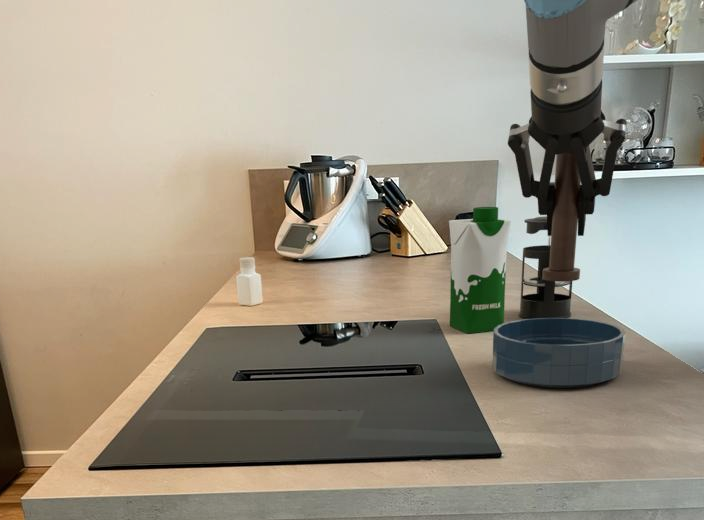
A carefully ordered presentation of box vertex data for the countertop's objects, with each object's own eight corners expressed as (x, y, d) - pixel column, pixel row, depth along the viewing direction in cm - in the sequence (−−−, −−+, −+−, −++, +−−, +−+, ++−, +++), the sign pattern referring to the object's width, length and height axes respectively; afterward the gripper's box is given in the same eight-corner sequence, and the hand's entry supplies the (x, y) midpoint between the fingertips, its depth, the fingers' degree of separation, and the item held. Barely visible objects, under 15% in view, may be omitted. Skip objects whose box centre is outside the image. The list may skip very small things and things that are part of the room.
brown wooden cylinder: (578, 275, 106) (588, 147, 100) (580, 281, 102) (591, 147, 96) (541, 275, 107) (549, 148, 101) (542, 281, 103) (551, 149, 96)
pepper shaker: (237, 305, 166) (233, 259, 162) (249, 302, 169) (246, 256, 165) (251, 306, 164) (247, 259, 160) (264, 303, 167) (260, 257, 163)
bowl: (612, 358, 115) (616, 317, 112) (628, 392, 99) (633, 346, 97) (493, 357, 118) (494, 317, 116) (490, 390, 103) (492, 345, 100)
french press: (575, 321, 139) (586, 182, 130) (521, 322, 140) (528, 184, 131) (565, 308, 150) (574, 179, 141) (515, 309, 151) (521, 181, 142)
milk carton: (464, 335, 132) (467, 210, 124) (442, 325, 140) (443, 207, 132) (511, 330, 134) (517, 207, 126) (486, 320, 142) (490, 204, 134)
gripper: (485, 112, 86) (501, 250, 107) (643, 104, 81) (628, 250, 102) (494, 62, 88) (509, 206, 109) (648, 51, 83) (633, 204, 104)
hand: (566, 227), depth 105 cm, fingers closed on brown wooden cylinder, 3 cm apart
